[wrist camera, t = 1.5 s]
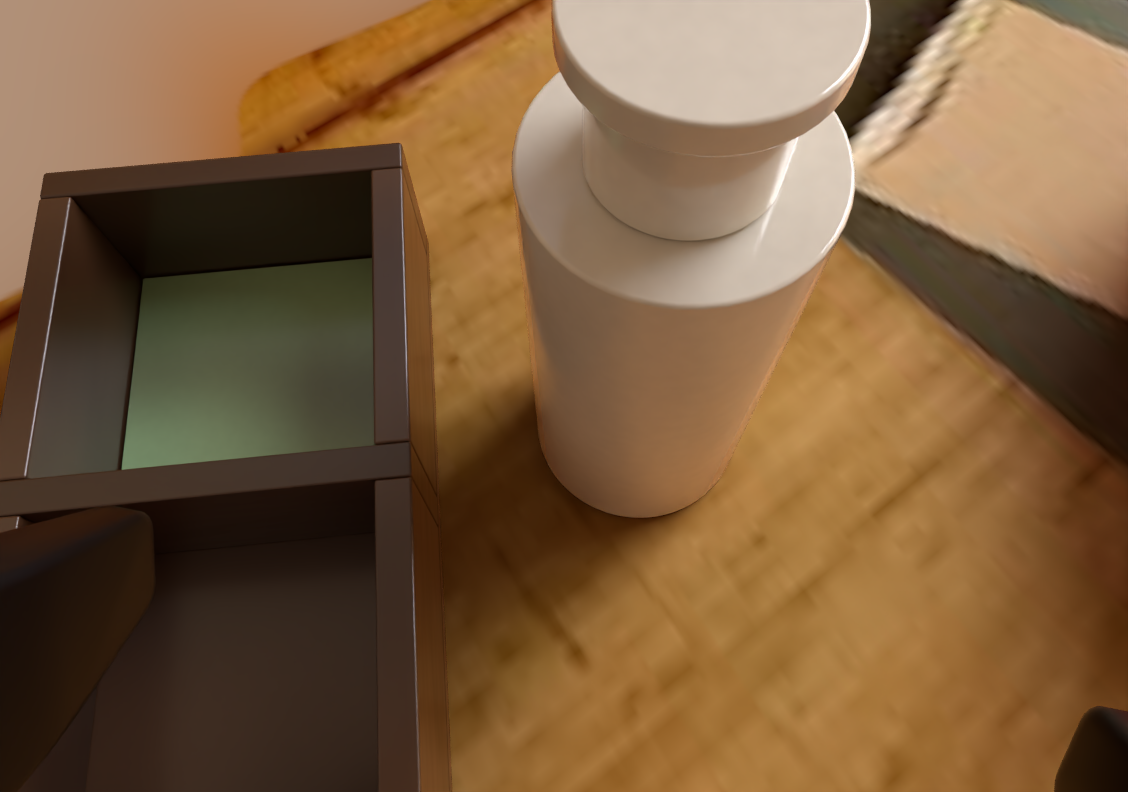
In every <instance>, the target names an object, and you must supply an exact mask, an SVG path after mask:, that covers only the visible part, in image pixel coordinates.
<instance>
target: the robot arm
mask: <svg viewBox="0 0 1128 792" xmlns="http://www.w3.org/2000/svg"><path fill="white" fill-rule="evenodd" d="M155 584H156V576H155V554H154V532H153V524H152V521H151V519H150V517H149V516H148V515H147V514H146V513H144V512H141V511H137V510H132V509H127V508H122V507H117V506H112V505H105V506H100V507H96V508H93V509H89V510H85V511H81V512H77V513H74V514H70V515H66V516H62V517H58V518H54V519H51V520H47V521H43V522H39V523H35V524H32V525H28V526H24V527H20V528H16V529H12V530H9V531H5V532H1V533H0V792H18V791H19V790H20V789H21V787H22V786H23V785H24V784H25V782H26V781H27V780H28V779H29V777H30V776H31V775H32V774H33V773H34V771H35V770H36V769H37V768H38V766H39V765H40V764H41V763H42V762H43V760H44V759H45V758H46V756H47V755H48V754H49V753H50V751H51V750H52V749H53V747H54V746H55V745H56V744H57V742H58V741H59V740H60V738H61V737H62V736H63V734H64V733H65V732H66V730H67V729H68V727H69V726H70V724H71V723H72V722H73V720H74V719H75V717H76V716H77V715H78V713H79V712H80V710H81V709H82V707H83V706H84V704H85V703H86V701H87V700H88V698H89V697H90V695H91V694H92V692H93V691H94V689H95V687H96V686H97V684H98V683H99V681H100V680H101V678H102V677H103V675H104V674H105V672H106V671H107V669H108V668H109V666H110V665H111V663H112V662H113V660H114V659H115V657H116V656H117V654H118V653H119V651H120V650H121V648H122V647H123V645H124V644H125V642H126V641H127V639H128V638H129V636H130V635H131V633H132V632H133V630H134V629H135V627H136V626H137V624H138V623H139V621H140V620H141V618H142V617H143V615H144V614H145V612H146V611H147V609H148V607H149V605H150V603H151V601H152V598H153V595H154V591H155ZM1054 792H1128V711H1123V710H1118V709H1113V708H1107V707H1102V706H1096V707H1093V708H1090V709H1089V710H1088V711H1087V712H1086V713H1084V715H1083V717H1082V718H1081V720H1080V722H1079V725H1078V727H1077V729H1076V731H1075V734H1074V736H1073V738H1072V740H1071V742H1070V745H1069V747H1068V749H1067V751H1066V754H1065V756H1064V758H1063V760H1062V763H1061V765H1060V767H1059V769H1058V772H1057V775H1056V779H1055V788H1054Z"/></svg>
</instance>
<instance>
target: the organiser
mask: <svg viewBox="0 0 1128 792" xmlns="http://www.w3.org/2000/svg"><path fill="white" fill-rule="evenodd" d="M40 197H41V200H40V201H39V205H38V211H37V217H36V222H35V227H34V233H33V239H32V245H31V250H30V255H29V261H28V266H27V272H26V278H25V283H24V289H23V294H22V300H21V305H20V311H19V316H18V322H17V327H16V333H15V339H14V344H13V350H12V355H11V361H10V366H9V372H8V377H7V383H6V389H5V394H4V400H3V405H2V411H1V416H0V533H1V532H5V531H9V530H12V529H16V528H20V527H24V526H28V525H32V524H35V523H39V522H43V521H47V520H51V519H54V518H58V517H62V516H66V515H70V514H74V513H77V512H81V511H85V510H89V509H93V508H96V507H100V506H105V505H112V506H117V507H122V508H127V509H132V510H137V511H141V512H144V513H146V514H147V515H148V516H149V517H150V519H151V521H152V524H153V532H154V554H155V576H156V584H155V591H154V595H153V598H152V601H151V603H150V605H149V607H148V609H147V611H146V612H145V614H144V615H143V617H142V618H141V620H140V621H139V623H138V624H137V626H136V627H135V629H134V630H133V632H132V633H131V635H130V636H129V638H128V639H127V641H126V642H125V644H124V645H123V647H122V648H121V650H120V651H119V653H118V654H117V656H116V657H115V659H114V660H113V662H112V663H111V665H110V666H109V668H108V669H107V671H106V672H105V674H104V675H103V677H102V678H101V680H100V681H99V683H98V684H97V686H96V687H95V689H94V691H93V692H92V694H91V695H90V697H89V698H88V700H87V701H86V703H85V704H84V706H83V707H82V709H81V710H80V712H79V713H78V715H77V716H76V717H75V719H74V720H73V722H72V723H71V724H70V726H69V727H68V729H67V730H66V732H65V733H64V734H63V736H62V737H61V738H60V740H59V741H58V742H57V744H56V745H55V746H54V747H53V749H52V750H51V751H50V753H49V754H48V755H47V756H46V758H45V759H44V760H43V762H42V763H41V764H40V765H39V766H38V768H37V769H36V770H35V771H34V773H33V774H32V775H31V776H30V777H29V779H28V780H27V781H26V782H25V784H24V785H23V786H22V787H21V789H20V790H19V791H18V792H452V776H451V753H450V730H449V707H448V684H447V661H446V638H445V615H444V592H443V569H442V546H441V523H440V499H439V476H438V453H437V430H436V407H435V384H434V361H433V338H432V315H431V292H430V269H429V246H428V239H427V236H426V232H425V229H424V225H423V221H422V218H421V214H420V210H419V207H418V203H417V199H416V195H415V192H414V188H413V184H412V181H411V177H410V173H409V170H408V166H407V162H406V159H405V155H404V151H403V147H402V145H401V144H400V143H392V144H381V145H369V146H358V147H346V148H334V149H323V150H311V151H299V152H288V153H276V154H265V155H253V156H241V157H231V158H218V159H206V160H195V161H183V162H172V163H160V164H150V165H149V164H148V165H138V166H126V167H113V168H102V169H90V170H79V171H67V172H57V173H56V172H55V173H46V174H45V175H44V178H43V184H42V190H41V195H40Z"/></svg>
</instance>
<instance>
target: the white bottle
mask: <svg viewBox="0 0 1128 792" xmlns="http://www.w3.org/2000/svg"><path fill="white" fill-rule="evenodd" d="M870 30H871V10H870V4H869V0H552V42H553V48H554V55H555V58H556V61H557V64H558V67H559V70H560V72H558V73H557V74H556V75H555V76H554V77H553V78H552V79H551V80H550V81H549V82H548V83H547V84H546V85H545V86H544V87H543V88H542V89H541V90H540V92H539V93H538V94H537V95H536V97H535V98H534V99H533V101H532V102H531V104H530V106H529V108H528V109H527V111H526V113H525V115H524V116H523V118H522V120H521V123H520V126H519V128H518V131H517V134H516V137H515V142H514V147H513V152H512V180H513V190H514V200H515V210H516V219H517V229H518V239H519V249H520V259H521V269H522V279H523V288H524V298H525V308H526V318H527V328H528V338H529V348H530V357H531V367H532V377H533V387H534V397H535V407H536V417H537V426H538V435H539V441H540V445H541V449H542V452H543V454H544V457H545V459H546V462H547V464H548V465H549V467H550V469H551V470H552V472H553V474H554V475H555V476H556V477H557V479H558V480H559V481H560V483H561V484H562V485H563V486H564V487H565V488H566V489H567V490H568V491H569V492H571V493H572V494H573V495H574V496H576V497H577V498H578V499H580V500H581V501H583V502H585V503H586V504H588V505H590V506H592V507H594V508H596V509H599V510H601V511H604V512H606V513H610V514H614V515H618V516H624V517H632V518H647V517H655V516H661V515H665V514H669V513H673V512H675V511H678V510H680V509H683V508H685V507H687V506H688V505H690V504H692V503H694V502H695V501H697V500H698V499H700V498H701V497H702V496H703V495H705V494H706V493H707V492H708V491H709V490H710V489H711V488H712V487H713V486H714V485H715V484H716V482H717V481H718V480H719V478H720V477H721V476H722V474H723V473H724V471H725V469H726V467H727V465H728V463H729V461H730V459H731V457H732V455H733V453H734V451H735V449H736V447H737V445H738V443H739V441H740V439H741V437H742V435H743V433H744V431H745V429H746V427H747V425H748V423H749V421H750V419H751V417H752V414H753V412H754V410H755V408H756V406H757V404H758V402H759V400H760V398H761V396H762V394H763V392H764V390H765V388H766V386H767V384H768V382H769V380H770V378H771V376H772V374H773V372H774V370H775V368H776V366H777V364H778V362H779V360H780V358H781V356H782V354H783V352H784V350H785V347H786V345H787V343H788V341H789V339H790V337H791V335H792V333H793V331H794V329H795V327H796V325H797V323H798V321H799V319H800V317H801V315H802V313H803V311H804V309H805V307H806V305H807V303H808V301H809V299H810V297H811V295H812V293H813V291H814V289H815V287H816V285H817V283H818V280H819V278H820V276H821V274H822V272H823V270H824V268H825V266H826V264H827V262H828V260H829V258H830V256H831V254H832V252H833V250H834V248H835V246H836V244H837V242H838V240H839V238H840V236H841V234H842V232H843V230H844V228H845V226H846V223H847V220H848V217H849V214H850V212H851V209H852V205H853V199H854V193H855V166H854V160H853V154H852V149H851V146H850V143H849V140H848V137H847V134H846V132H845V130H844V128H843V126H842V124H841V122H840V120H839V118H838V116H837V114H836V113H835V111H834V110H835V109H836V107H837V106H838V105H839V104H840V103H841V101H842V100H843V99H844V97H845V96H846V94H847V92H848V90H849V89H850V87H851V85H852V83H853V80H854V78H855V75H856V73H857V70H858V68H859V65H860V63H861V61H862V58H863V55H864V53H865V50H866V47H867V45H868V41H869V35H870Z"/></svg>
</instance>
